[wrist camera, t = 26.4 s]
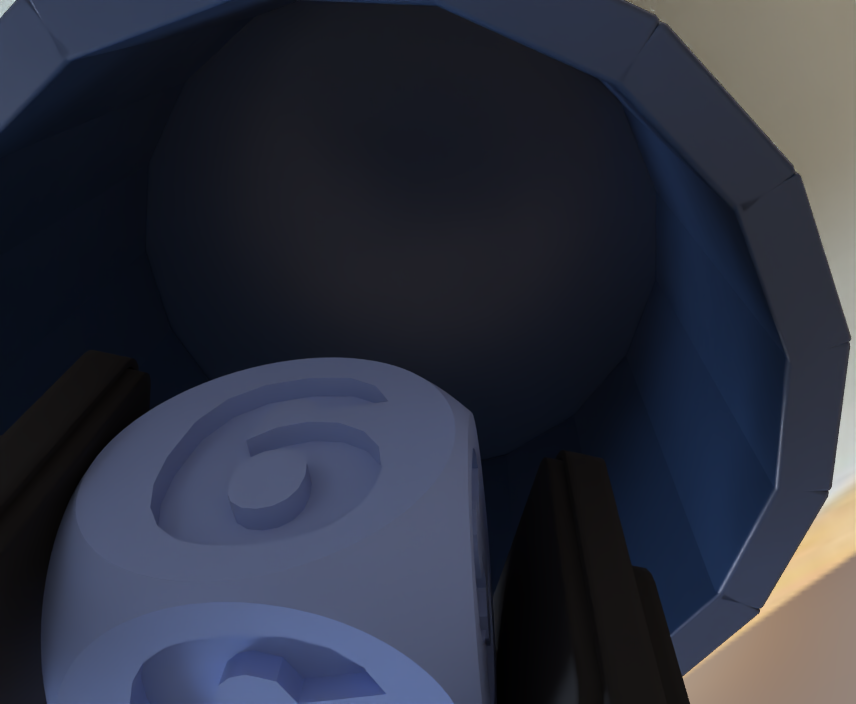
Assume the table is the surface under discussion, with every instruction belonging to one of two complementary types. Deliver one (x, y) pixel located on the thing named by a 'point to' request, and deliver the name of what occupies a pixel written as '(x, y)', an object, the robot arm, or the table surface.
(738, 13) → the table surface
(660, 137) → the blue cooking pot
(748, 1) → the table surface
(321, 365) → the decorative dice
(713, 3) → the table surface
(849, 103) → the table surface
